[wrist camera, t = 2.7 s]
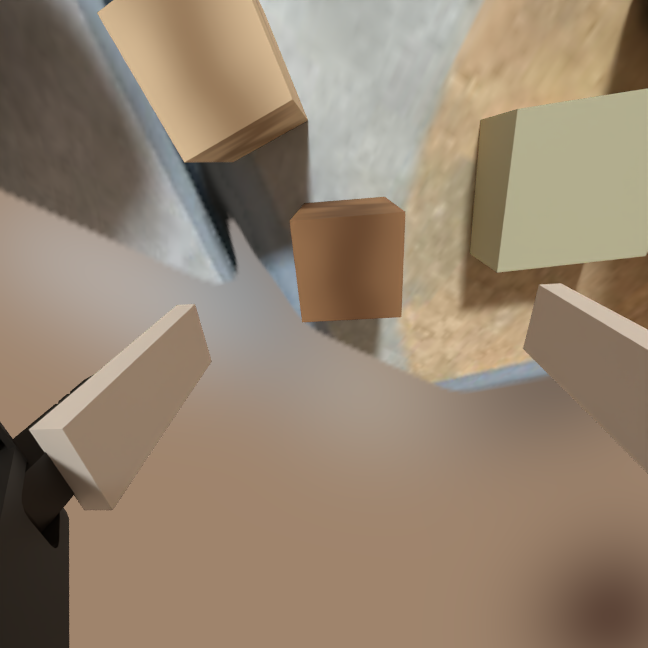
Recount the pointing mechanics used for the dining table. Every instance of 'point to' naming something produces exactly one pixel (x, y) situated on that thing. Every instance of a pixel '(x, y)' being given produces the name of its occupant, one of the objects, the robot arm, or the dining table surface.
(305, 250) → the walnut block
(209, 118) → the maple block
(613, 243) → the pedestal block
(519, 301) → the dining table surface
